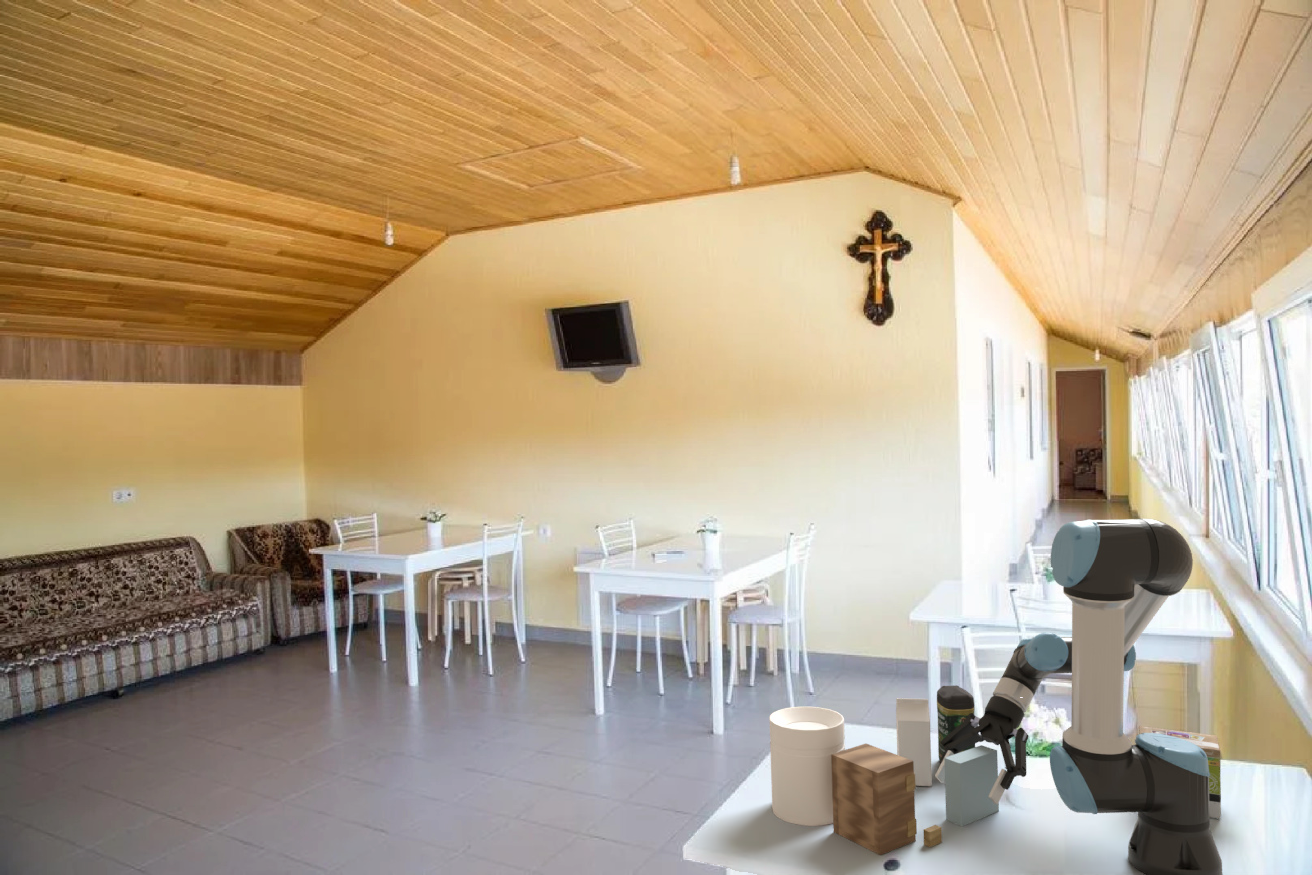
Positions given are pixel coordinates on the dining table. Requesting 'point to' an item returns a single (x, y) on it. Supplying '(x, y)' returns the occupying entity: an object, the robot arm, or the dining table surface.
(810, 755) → the canister
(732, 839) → the dining table surface
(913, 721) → the milk carton
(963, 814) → the door
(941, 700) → the coffee jar
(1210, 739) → the tea box
